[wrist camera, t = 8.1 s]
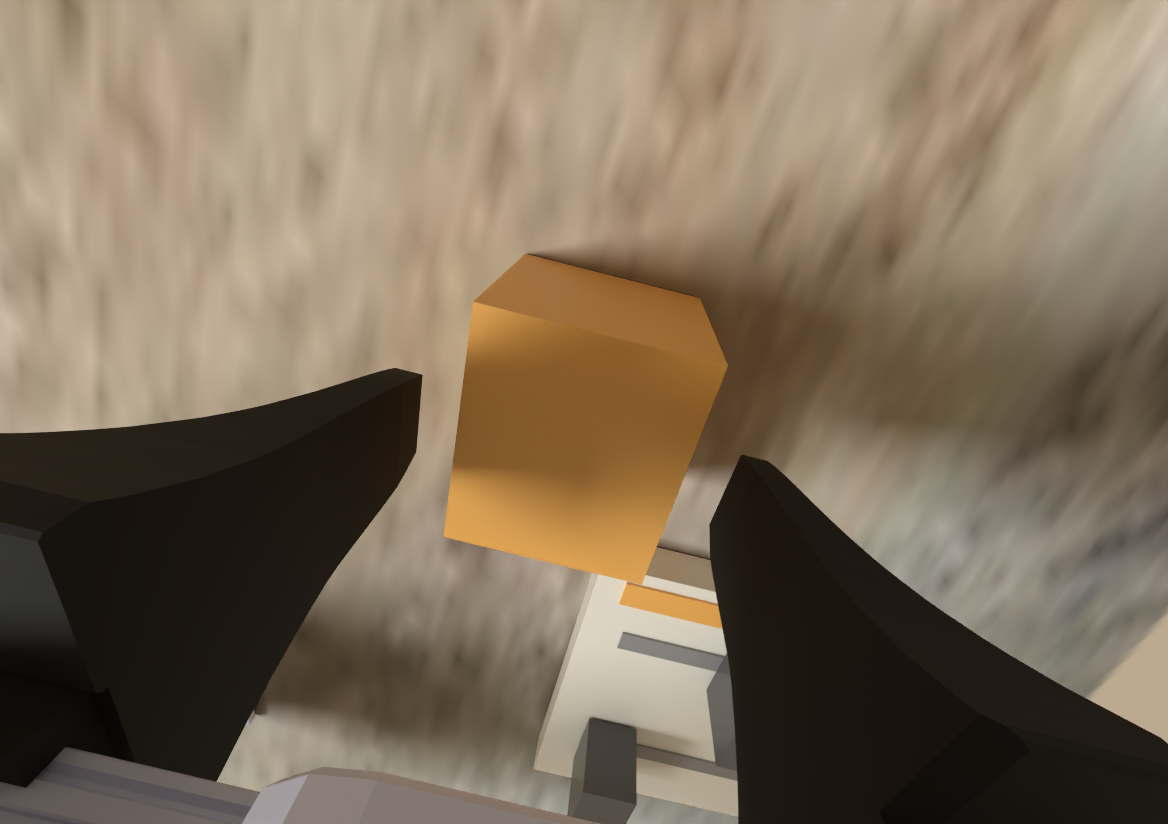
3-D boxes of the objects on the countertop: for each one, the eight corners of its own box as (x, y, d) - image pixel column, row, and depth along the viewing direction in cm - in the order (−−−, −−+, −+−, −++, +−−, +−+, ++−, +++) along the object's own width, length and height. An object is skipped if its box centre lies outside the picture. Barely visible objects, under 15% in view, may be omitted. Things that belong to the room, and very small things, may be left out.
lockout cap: (494, 434, 17) (443, 536, 12) (525, 253, 14) (472, 301, 10) (640, 471, 17) (641, 584, 12) (700, 298, 14) (728, 365, 10)
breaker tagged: (706, 689, 19) (716, 765, 17) (734, 638, 18) (749, 714, 15) (757, 701, 19) (773, 779, 17) (789, 651, 18) (813, 728, 16)
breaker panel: (539, 735, 24) (532, 771, 23) (604, 534, 18) (601, 566, 17) (759, 787, 25) (766, 826, 23) (896, 605, 19) (917, 643, 17)
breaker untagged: (573, 757, 22) (565, 831, 20) (589, 718, 21) (582, 792, 18) (618, 768, 22) (615, 842, 20) (636, 729, 21) (636, 804, 18)
